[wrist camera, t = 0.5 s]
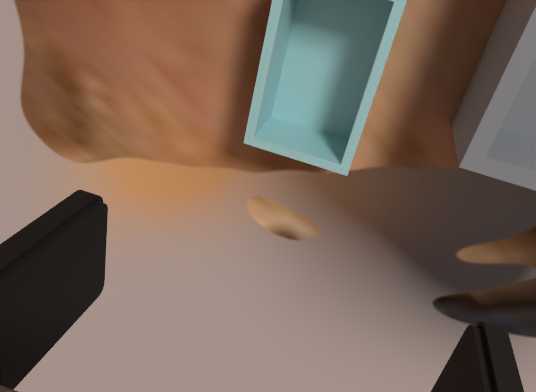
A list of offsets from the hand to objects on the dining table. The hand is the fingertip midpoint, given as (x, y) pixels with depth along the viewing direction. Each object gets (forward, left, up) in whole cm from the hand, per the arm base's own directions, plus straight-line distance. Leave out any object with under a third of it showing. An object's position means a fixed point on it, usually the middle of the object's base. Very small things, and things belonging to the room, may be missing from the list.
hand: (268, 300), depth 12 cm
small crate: (0, -2, -24) cm, 24 cm away
